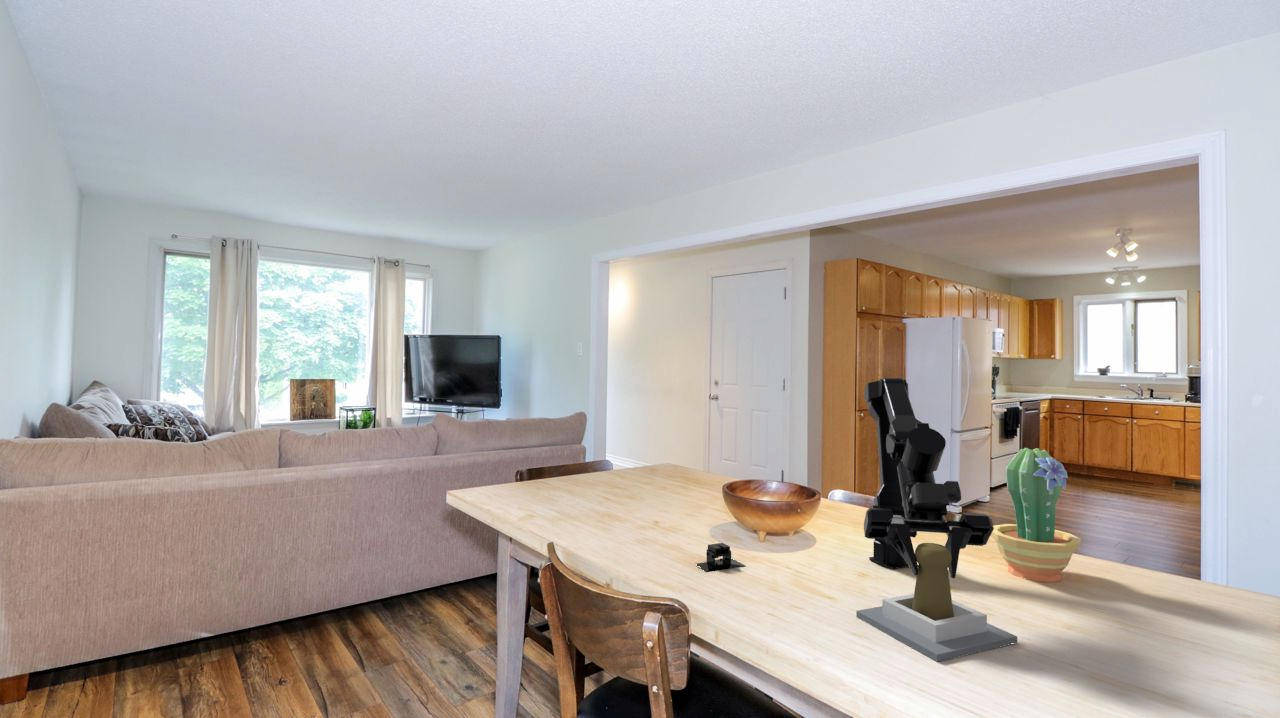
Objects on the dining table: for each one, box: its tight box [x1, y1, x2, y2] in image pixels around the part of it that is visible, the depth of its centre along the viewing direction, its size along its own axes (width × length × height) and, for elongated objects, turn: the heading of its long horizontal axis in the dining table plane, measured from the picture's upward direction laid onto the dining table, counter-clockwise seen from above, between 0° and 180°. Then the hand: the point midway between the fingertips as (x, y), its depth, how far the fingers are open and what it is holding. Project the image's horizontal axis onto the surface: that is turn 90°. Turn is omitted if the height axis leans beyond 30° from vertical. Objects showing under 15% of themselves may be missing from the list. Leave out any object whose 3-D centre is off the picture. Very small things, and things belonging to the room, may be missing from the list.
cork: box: [912, 542, 954, 621], centre depth 94 cm, size 6×6×11 cm
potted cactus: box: [990, 447, 1082, 583], centre depth 120 cm, size 15×16×25 cm
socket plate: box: [855, 593, 1018, 663], centre depth 94 cm, size 16×16×4 cm
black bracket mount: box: [696, 542, 747, 573], centre depth 124 cm, size 12×7×5 cm, turn 114°
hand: (935, 575), depth 93 cm, fingers closed on cork, 5 cm apart
